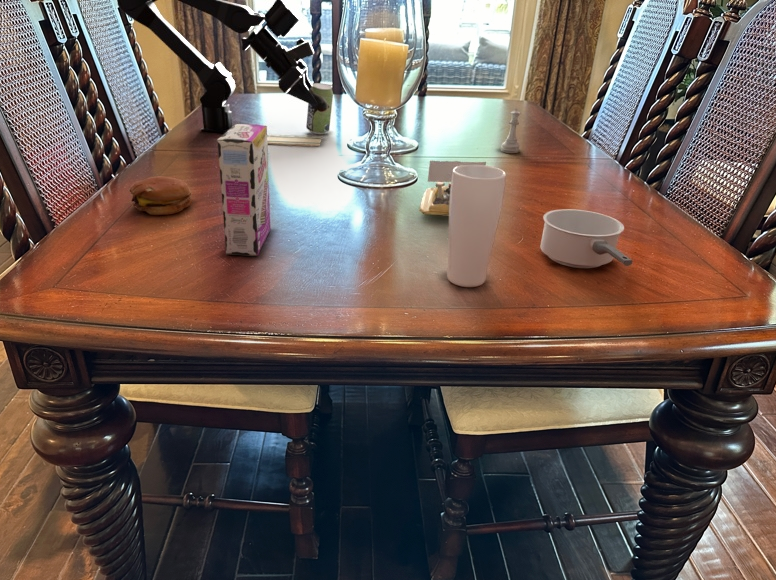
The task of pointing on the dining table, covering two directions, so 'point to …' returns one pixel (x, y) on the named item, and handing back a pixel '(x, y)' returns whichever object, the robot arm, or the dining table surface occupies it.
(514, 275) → the dining table surface
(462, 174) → the drinking glass
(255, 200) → the white pink box
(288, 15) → the robot arm
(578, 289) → the dining table surface
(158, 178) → the burger
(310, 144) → the towel
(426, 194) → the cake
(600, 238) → the saucepan
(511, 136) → the chess piece
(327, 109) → the beverage can
